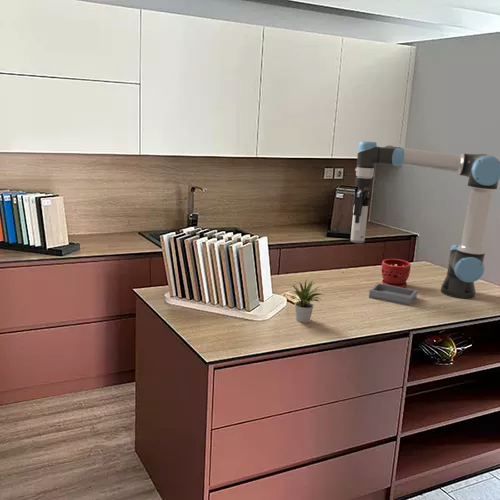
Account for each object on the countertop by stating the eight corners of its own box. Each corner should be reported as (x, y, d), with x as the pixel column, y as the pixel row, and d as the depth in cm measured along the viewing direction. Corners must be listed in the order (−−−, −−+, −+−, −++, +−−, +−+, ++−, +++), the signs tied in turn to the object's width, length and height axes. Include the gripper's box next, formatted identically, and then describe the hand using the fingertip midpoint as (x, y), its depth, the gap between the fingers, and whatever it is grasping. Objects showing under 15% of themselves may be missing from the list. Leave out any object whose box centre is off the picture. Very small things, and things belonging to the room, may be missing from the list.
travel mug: (365, 243, 249) (369, 199, 244) (350, 242, 250) (354, 197, 246) (365, 240, 255) (369, 197, 250) (350, 239, 256) (354, 196, 252)
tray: (416, 297, 252) (417, 290, 251) (409, 305, 241) (410, 298, 240) (376, 290, 260) (377, 283, 259) (368, 297, 248) (369, 290, 248)
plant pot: (379, 280, 275) (382, 257, 272) (406, 283, 272) (410, 260, 270) (379, 288, 263) (382, 264, 260) (408, 291, 260) (411, 267, 257)
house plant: (292, 329, 207) (296, 287, 203) (276, 316, 219) (279, 276, 215) (326, 325, 213) (330, 284, 209) (308, 312, 225) (311, 273, 221)
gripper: (362, 174, 256) (357, 224, 261) (349, 178, 239) (344, 231, 245) (378, 176, 252) (373, 226, 258) (366, 179, 236) (360, 233, 241)
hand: (359, 228), depth 251 cm, fingers closed on travel mug, 6 cm apart
